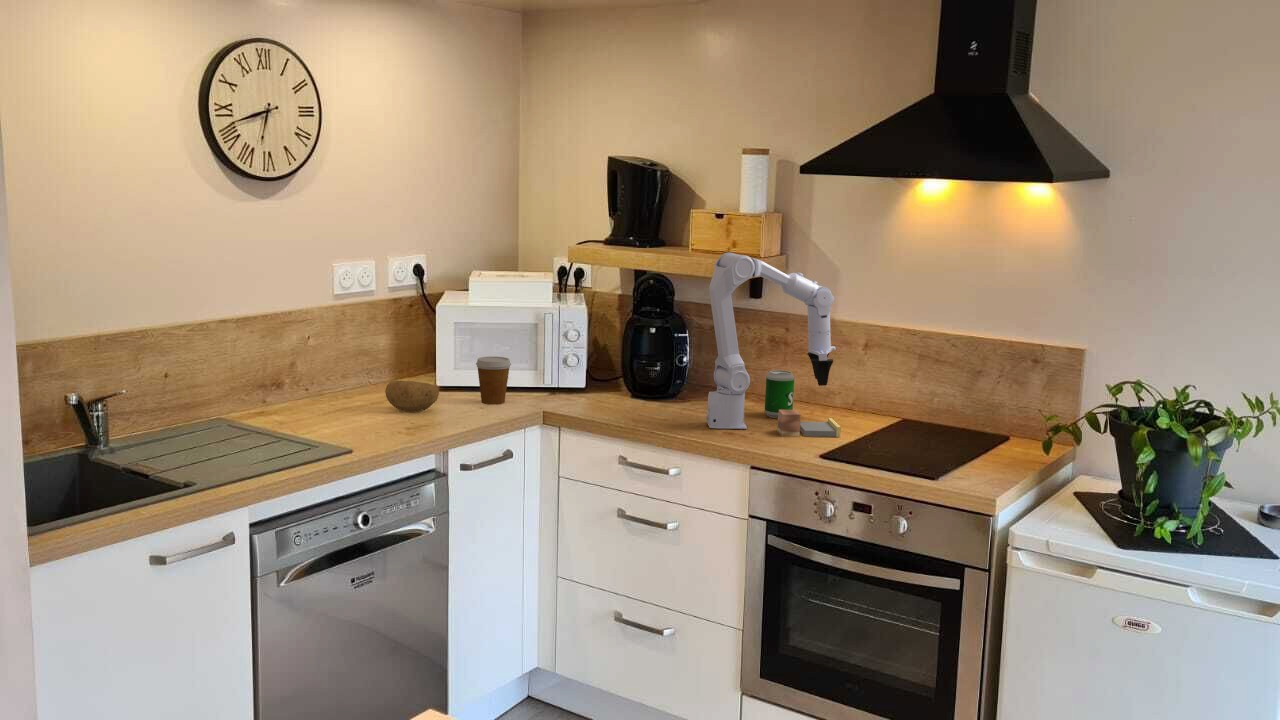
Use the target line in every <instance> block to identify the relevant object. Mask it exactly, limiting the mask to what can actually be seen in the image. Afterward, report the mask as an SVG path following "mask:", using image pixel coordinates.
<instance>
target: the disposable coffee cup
mask: <svg viewBox="0 0 1280 720" xmlns="http://www.w3.org/2000/svg"><path fill="white" fill-rule="evenodd" d="M475 365H476V368H477V375H478V382H479V391H480V393H479V394H480V398H481V399H480V400H481V401H480V402H481V403H482V404H483V405H490V404H496V405H502V403H503V404H504V403H506V402H505V401H506V395H507V389H508V388H507V386H508V379H509V375H510V374H509V373H510V368H511V366H512V363H511V360H510V358H508V357H504V356H482V357H477V361H476V363H475Z"/></svg>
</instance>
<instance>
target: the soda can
mask: <svg viewBox="0 0 1280 720" xmlns="http://www.w3.org/2000/svg"><path fill="white" fill-rule="evenodd" d="M794 388H795V375H793V373H792V371H789V370H783V369H782V370H781V369H780V370H778V369H776V370H775V369H773V370H770V371H769V372H768V373H767V374H766V376H765V395H764V413H765V414H766V416H767V417H768V416H769V418H771V419H778V414H779V410H794V407H793V406H794V392H795V391H794V390H795V389H794Z"/></svg>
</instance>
